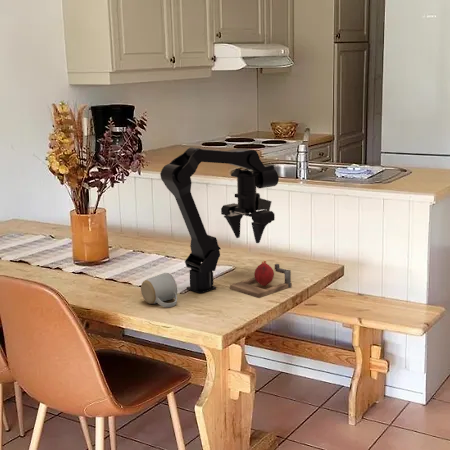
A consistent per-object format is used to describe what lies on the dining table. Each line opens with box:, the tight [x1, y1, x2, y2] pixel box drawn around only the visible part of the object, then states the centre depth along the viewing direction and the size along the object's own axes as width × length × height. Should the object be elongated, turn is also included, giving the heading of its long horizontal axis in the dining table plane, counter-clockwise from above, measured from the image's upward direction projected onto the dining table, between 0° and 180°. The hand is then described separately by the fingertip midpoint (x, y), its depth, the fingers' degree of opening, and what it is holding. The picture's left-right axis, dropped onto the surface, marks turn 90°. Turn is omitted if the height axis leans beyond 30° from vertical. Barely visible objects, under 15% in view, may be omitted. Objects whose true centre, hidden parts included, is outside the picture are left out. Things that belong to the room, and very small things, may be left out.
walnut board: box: [229, 263, 293, 299], centre depth 209 cm, size 14×12×6 cm
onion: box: [253, 260, 275, 287], centre depth 210 cm, size 6×6×8 cm
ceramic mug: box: [140, 272, 178, 308], centre depth 198 cm, size 11×8×8 cm
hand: (247, 240), depth 217 cm, fingers open, 9 cm apart
